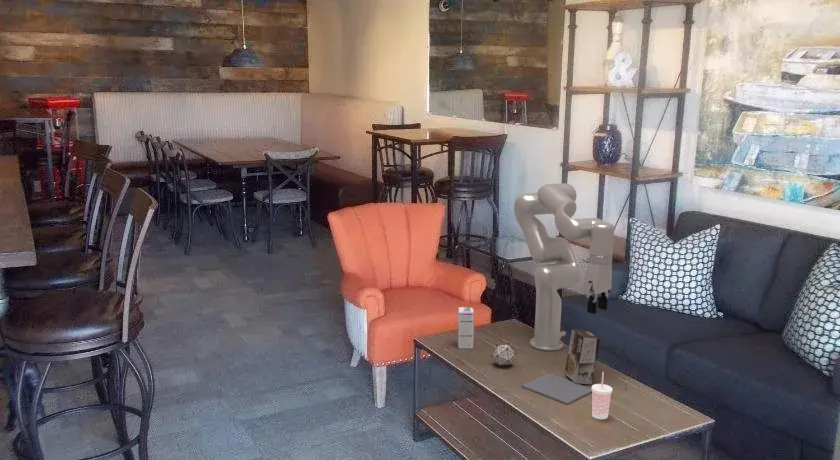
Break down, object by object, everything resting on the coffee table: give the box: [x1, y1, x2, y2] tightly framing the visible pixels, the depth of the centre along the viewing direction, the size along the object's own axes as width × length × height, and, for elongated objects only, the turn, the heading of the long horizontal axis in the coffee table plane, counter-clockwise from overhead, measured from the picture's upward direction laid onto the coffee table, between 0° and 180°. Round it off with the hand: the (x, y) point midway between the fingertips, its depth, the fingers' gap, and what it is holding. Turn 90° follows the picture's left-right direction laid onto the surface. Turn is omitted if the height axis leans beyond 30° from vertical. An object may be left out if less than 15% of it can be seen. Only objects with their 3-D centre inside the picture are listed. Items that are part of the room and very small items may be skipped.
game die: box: [490, 342, 518, 368], centre depth 256 cm, size 9×8×10 cm
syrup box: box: [457, 306, 475, 350], centre depth 273 cm, size 6×6×14 cm
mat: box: [521, 373, 592, 406], centre depth 237 cm, size 15×18×1 cm
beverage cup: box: [591, 371, 613, 420], centre depth 217 cm, size 6×6×14 cm
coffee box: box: [564, 328, 601, 385], centre depth 244 cm, size 9×6×16 cm
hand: (597, 310), depth 247 cm, fingers open, 5 cm apart
